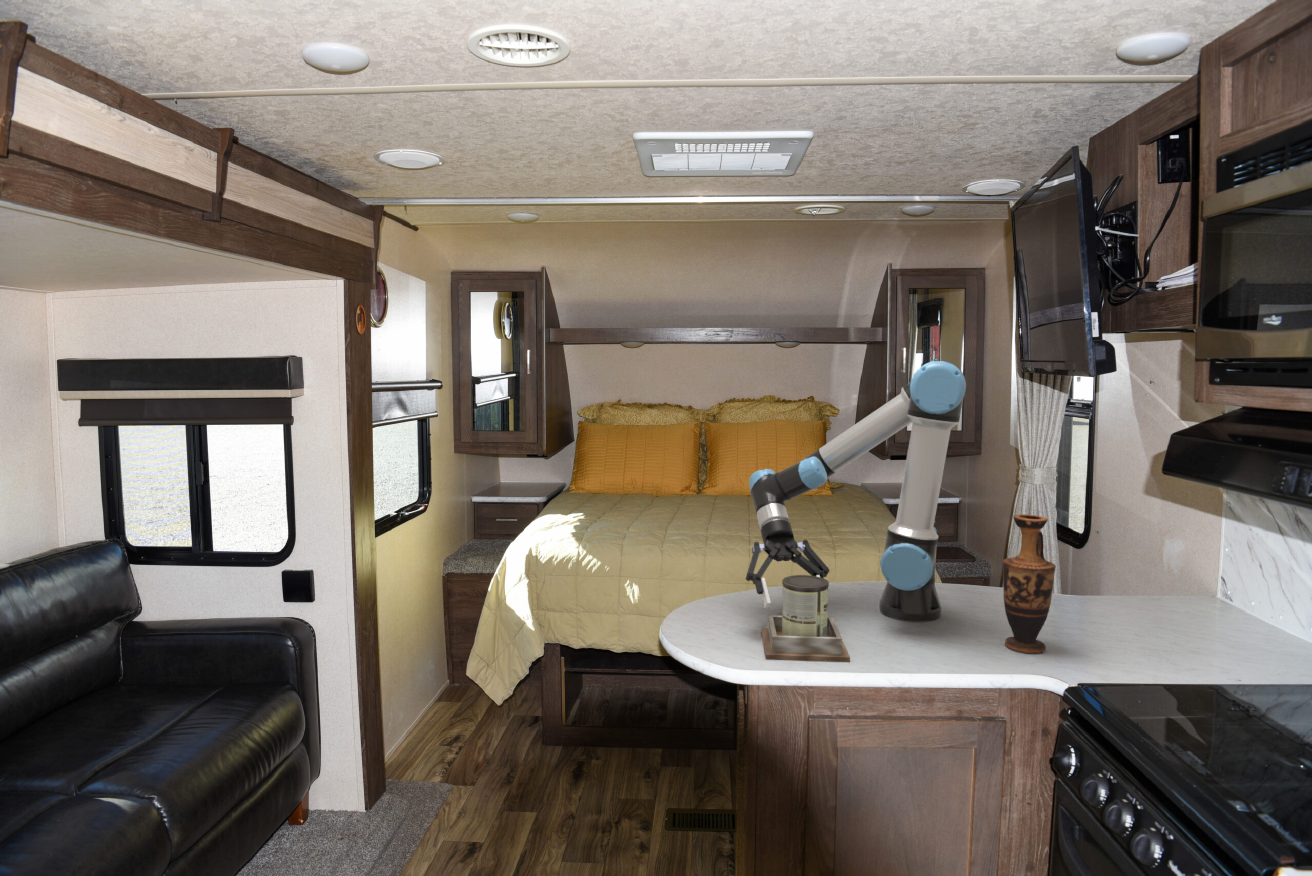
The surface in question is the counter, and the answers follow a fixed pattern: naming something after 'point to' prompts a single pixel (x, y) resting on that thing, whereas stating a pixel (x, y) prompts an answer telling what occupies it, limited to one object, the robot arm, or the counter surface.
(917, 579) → the robot arm
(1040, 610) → the vase
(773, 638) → the collar board
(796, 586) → the coffee can
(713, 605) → the counter surface
